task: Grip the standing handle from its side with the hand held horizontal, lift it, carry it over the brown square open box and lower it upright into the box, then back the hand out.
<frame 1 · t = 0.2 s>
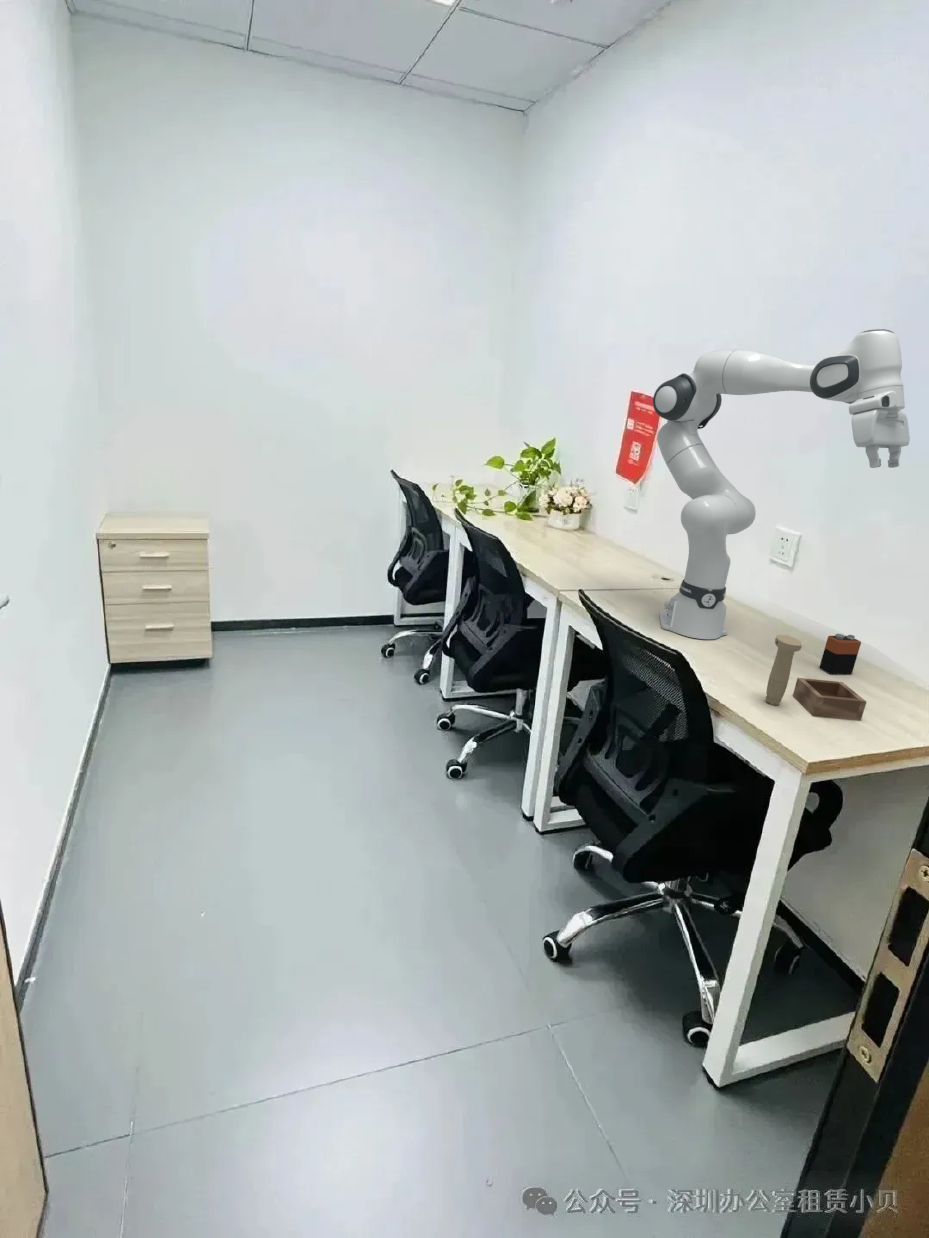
hand: (884, 467, 154), 52 cm above the table, tool tilted 20°, fingers open, 8 cm apart
brown square open box: (825, 707, 155), on the table
battery: (835, 672, 178), on the table
handle: (772, 703, 155), on the table
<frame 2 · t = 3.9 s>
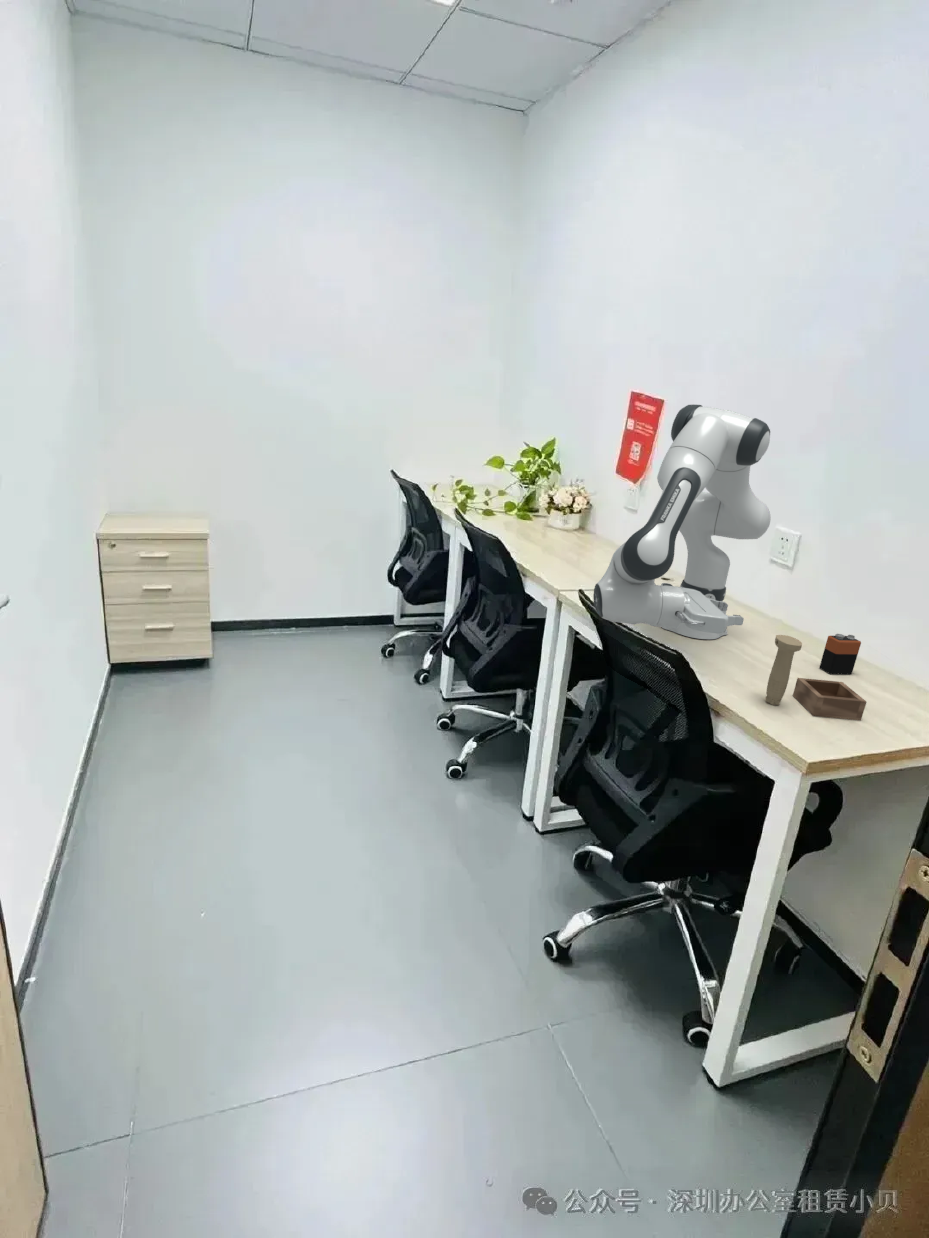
hand: (734, 613, 148), 20 cm above the table, tool horizontal, fingers open, 8 cm apart
nothing on the table moved.
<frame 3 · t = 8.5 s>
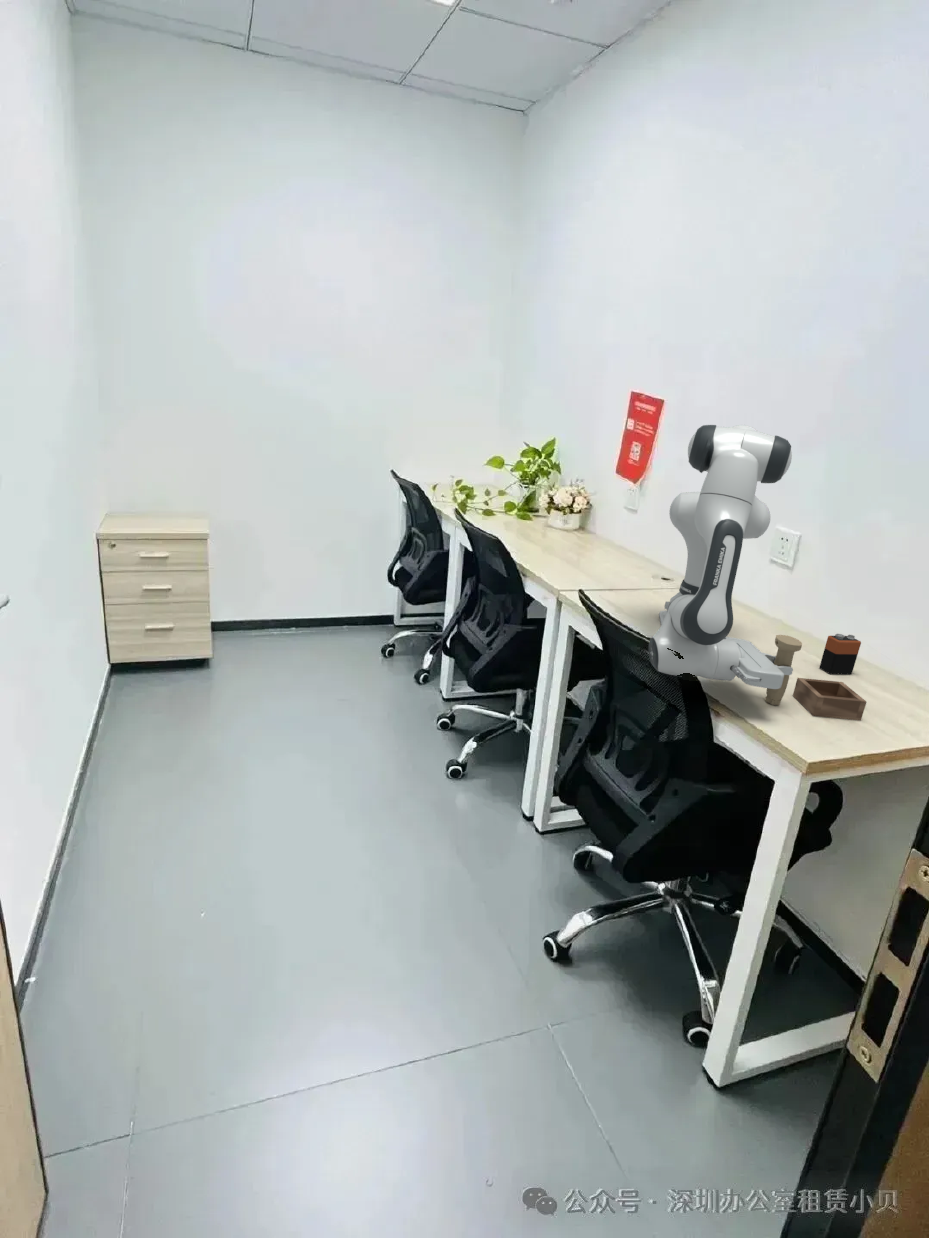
hand: (786, 665, 152), 9 cm above the table, tool horizontal, fingers closed on handle, 4 cm apart
handle: (772, 703, 155), on the table, touching gripper
everything else where it was.
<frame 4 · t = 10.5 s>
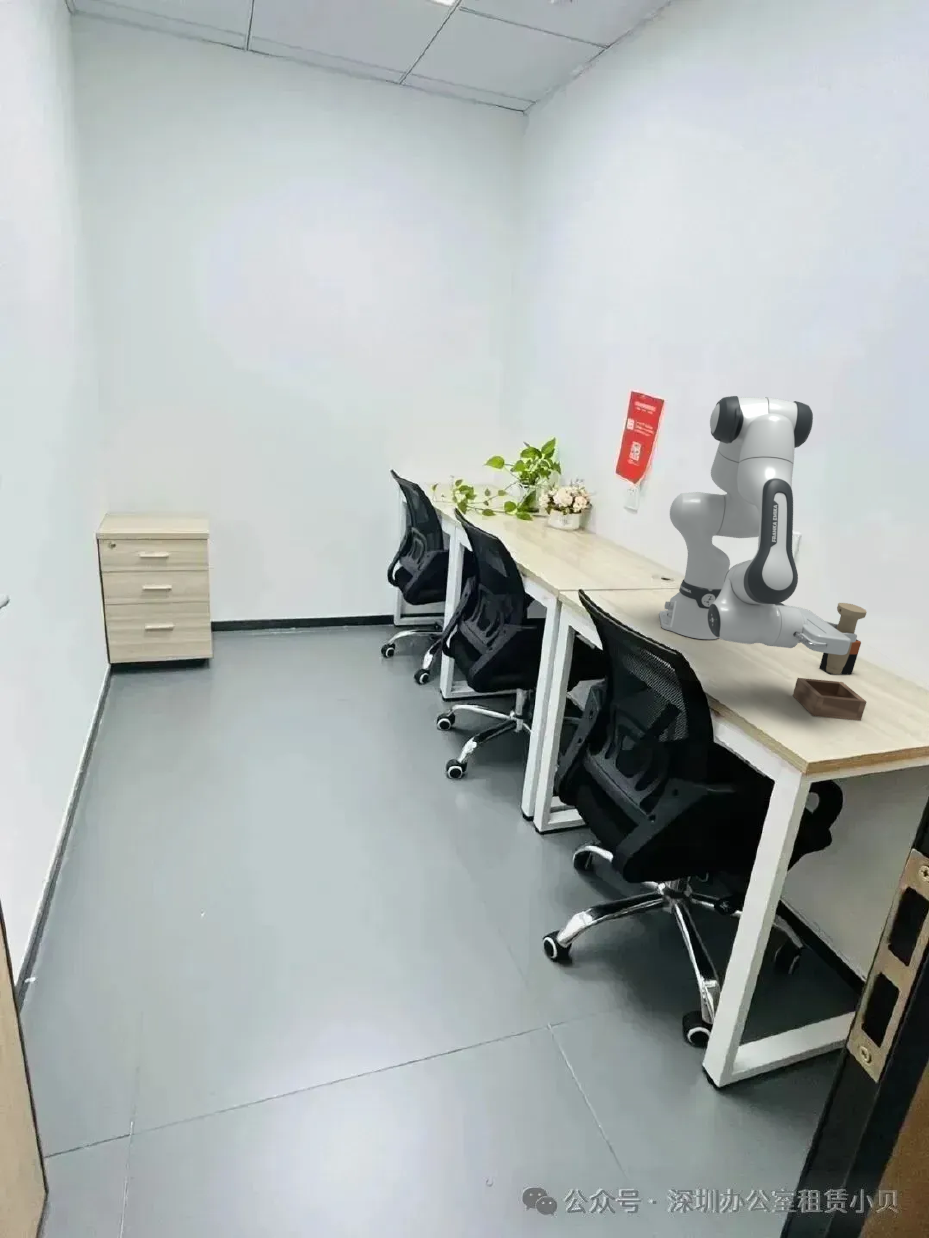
hand: (848, 633, 149), 18 cm above the table, tool horizontal, fingers closed on handle, 4 cm apart
handle: (832, 672, 152), point 8 cm above the table, touching gripper
everything else where it was.
when the fingers open (11 cm above the table, at t = 12.5 s): handle stays where it is, resting on brown square open box.
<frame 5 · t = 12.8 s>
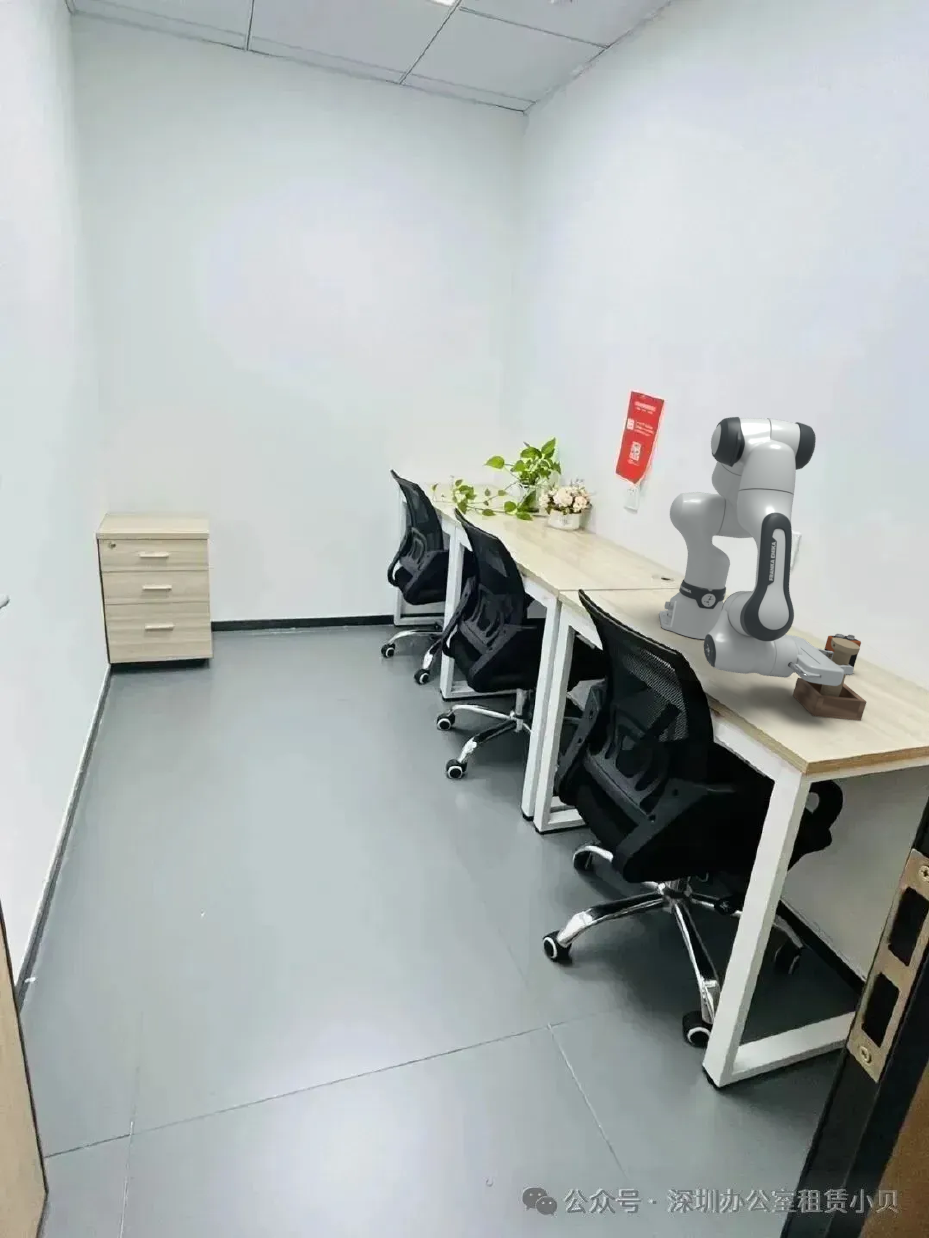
hand: (842, 662, 151), 11 cm above the table, tool horizontal, fingers open, 6 cm apart
handle: (825, 706, 155), resting on brown square open box
everything else where it was.
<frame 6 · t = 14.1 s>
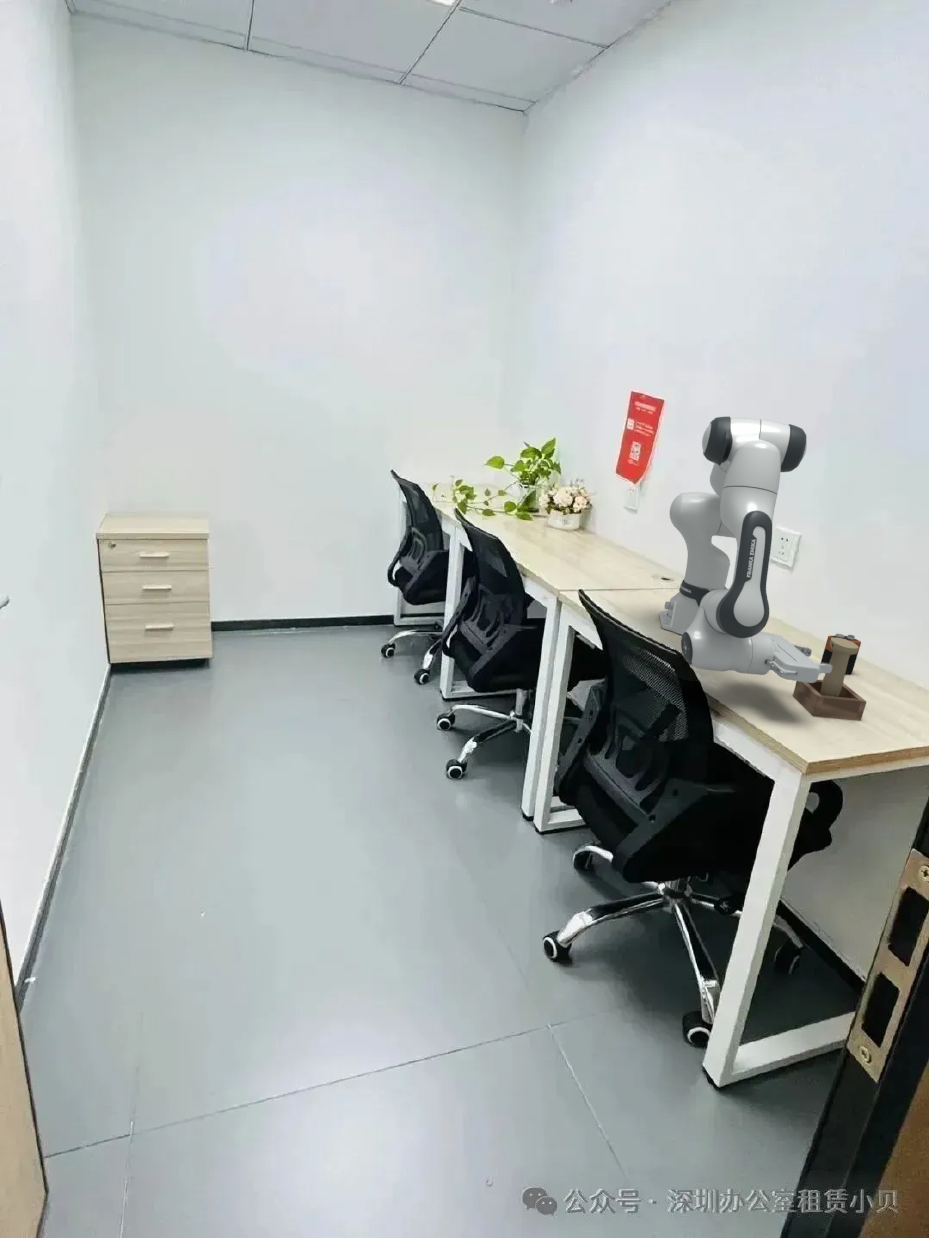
hand: (819, 659, 151), 11 cm above the table, tool horizontal, fingers open, 8 cm apart
nothing on the table moved.
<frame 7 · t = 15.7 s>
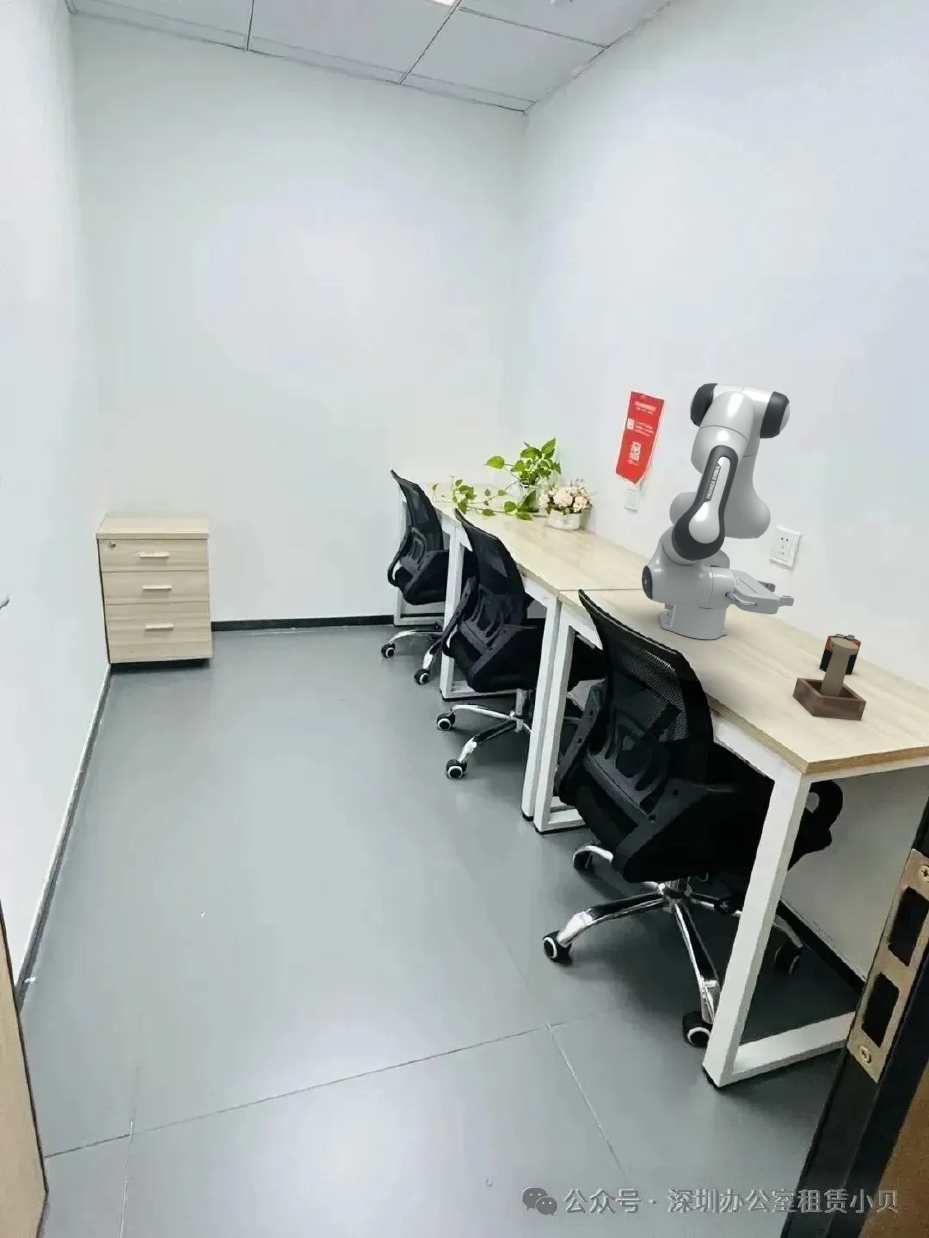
hand: (782, 594, 149), 24 cm above the table, tool horizontal, fingers open, 8 cm apart
nothing on the table moved.
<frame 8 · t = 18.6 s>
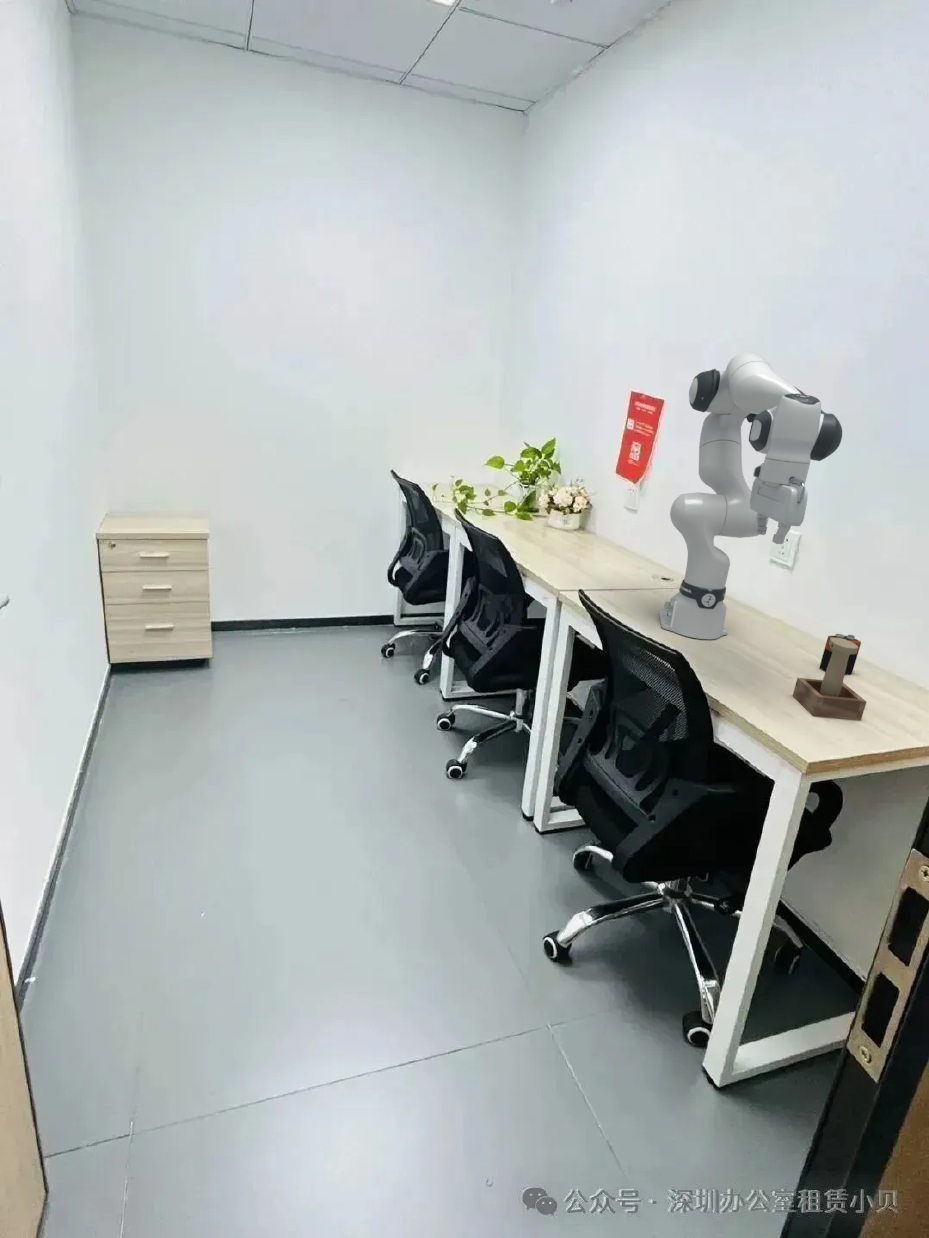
hand: (768, 538, 151), 35 cm above the table, tool pointing down, fingers open, 8 cm apart
nothing on the table moved.
at the end: handle inside the target area on the brown square open box (0.1 cm from its centre), point 0.3 cm above the brown square open box's base; handle tilted 0°; the gripper is holding nothing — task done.
